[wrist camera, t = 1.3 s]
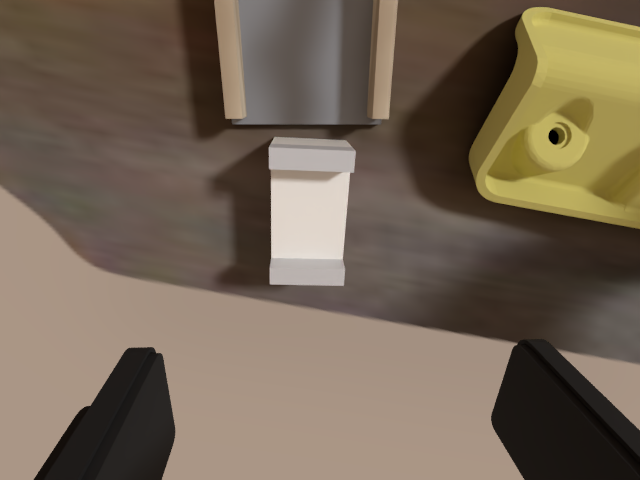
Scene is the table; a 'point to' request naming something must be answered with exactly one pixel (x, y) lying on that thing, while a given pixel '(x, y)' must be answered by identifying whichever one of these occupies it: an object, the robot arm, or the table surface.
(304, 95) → the assembly jig
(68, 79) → the table surface
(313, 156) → the white i-beam block
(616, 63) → the plastic component
